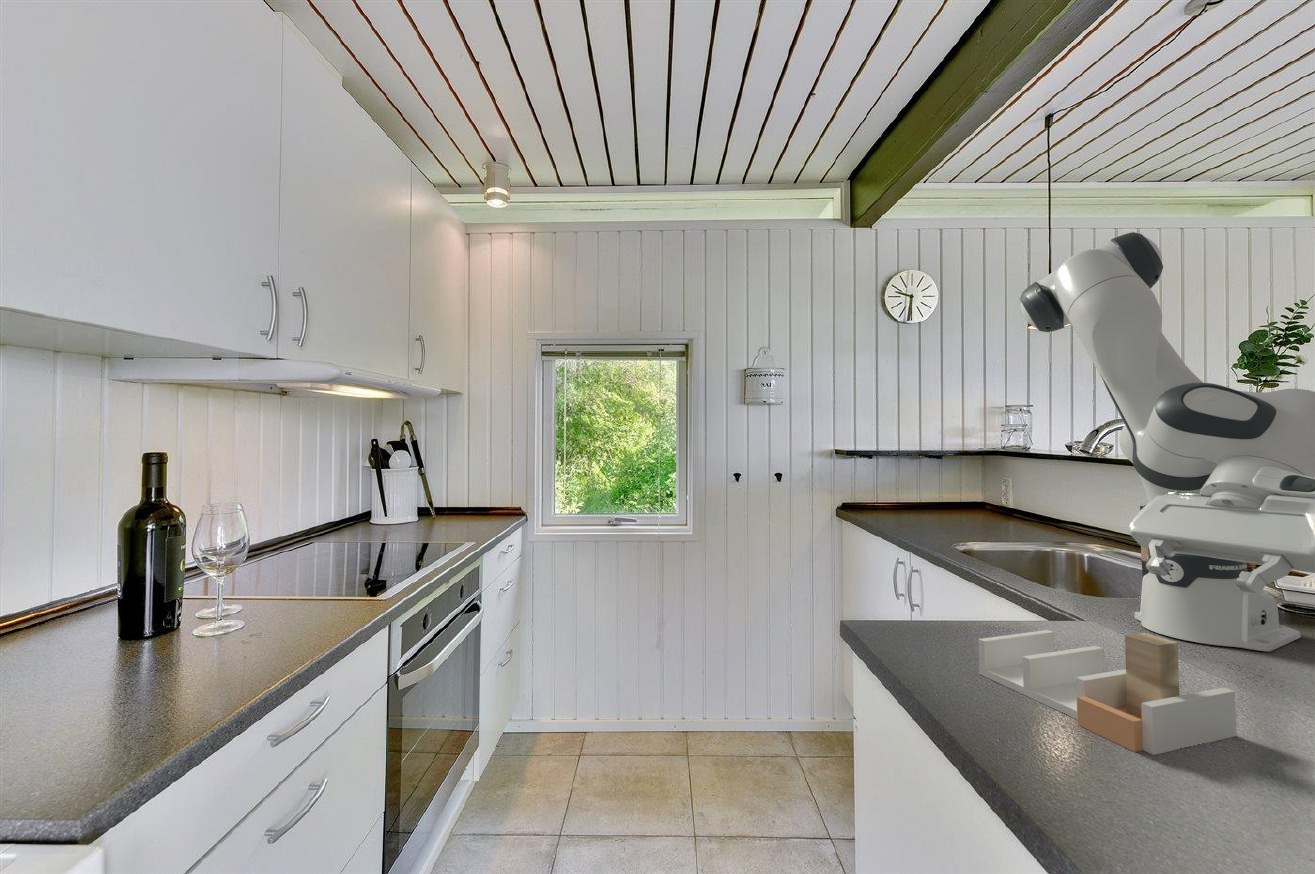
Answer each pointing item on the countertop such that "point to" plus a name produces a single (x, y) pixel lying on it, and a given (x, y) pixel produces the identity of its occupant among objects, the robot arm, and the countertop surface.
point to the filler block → (1150, 670)
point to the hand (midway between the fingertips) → (1197, 580)
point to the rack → (1104, 694)
